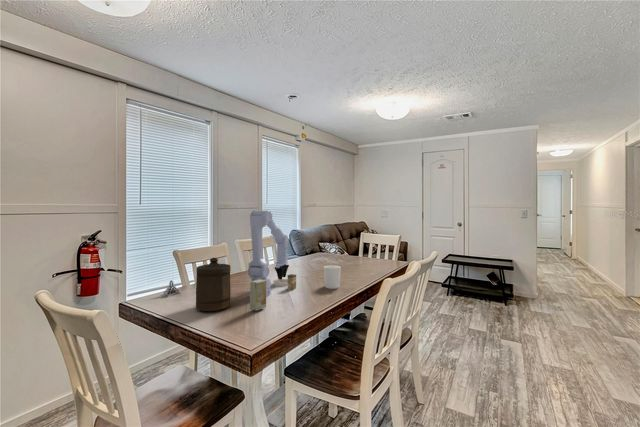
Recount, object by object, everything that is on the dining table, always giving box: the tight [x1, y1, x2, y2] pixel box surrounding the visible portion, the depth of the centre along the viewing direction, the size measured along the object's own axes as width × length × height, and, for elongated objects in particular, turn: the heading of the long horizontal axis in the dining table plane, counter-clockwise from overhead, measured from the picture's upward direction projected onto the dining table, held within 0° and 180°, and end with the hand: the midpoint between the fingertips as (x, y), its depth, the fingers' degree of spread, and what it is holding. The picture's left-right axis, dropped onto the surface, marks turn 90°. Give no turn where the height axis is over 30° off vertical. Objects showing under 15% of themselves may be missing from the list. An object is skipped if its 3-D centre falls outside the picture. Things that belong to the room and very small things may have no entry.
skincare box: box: [249, 279, 267, 311], centre depth 131 cm, size 6×4×12 cm
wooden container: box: [195, 257, 231, 312], centre depth 134 cm, size 15×15×22 cm
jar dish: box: [272, 278, 288, 287], centre depth 173 cm, size 9×9×2 cm
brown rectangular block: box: [286, 273, 297, 291], centre depth 163 cm, size 4×4×8 cm
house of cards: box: [162, 280, 181, 298], centre depth 154 cm, size 9×9×8 cm
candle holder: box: [323, 264, 342, 290], centre depth 167 cm, size 10×10×12 cm
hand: (281, 278), depth 173 cm, fingers open, 5 cm apart
